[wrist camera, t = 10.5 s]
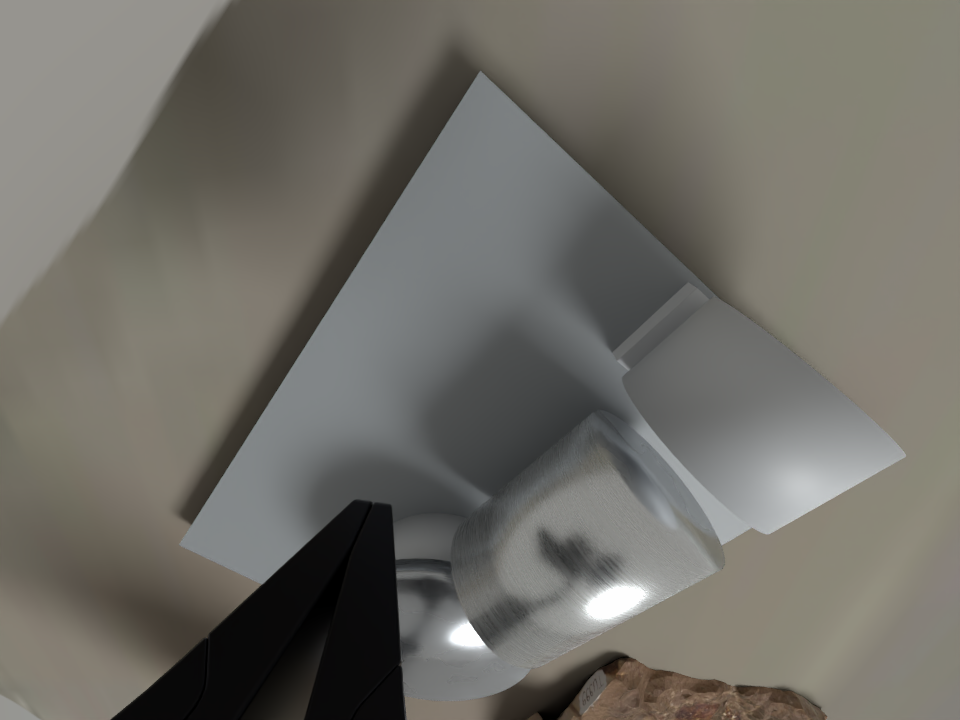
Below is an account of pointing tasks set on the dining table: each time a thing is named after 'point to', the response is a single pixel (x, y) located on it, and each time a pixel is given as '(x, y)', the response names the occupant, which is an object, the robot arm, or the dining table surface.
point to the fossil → (678, 698)
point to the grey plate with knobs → (523, 365)
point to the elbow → (551, 564)
